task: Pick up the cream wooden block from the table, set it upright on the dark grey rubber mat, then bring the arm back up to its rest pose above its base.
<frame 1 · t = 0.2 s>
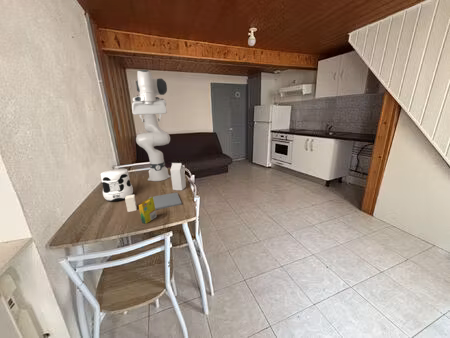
hand: (151, 121, 120), 48 cm above the table, tool pointing down, fingers open, 8 cm apart
crayon box: (149, 220, 96), on the table
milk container: (119, 197, 125), on the table
milk carton: (179, 188, 136), on the table
mat: (164, 201, 116), on the table
cream block: (132, 209, 108), on the table
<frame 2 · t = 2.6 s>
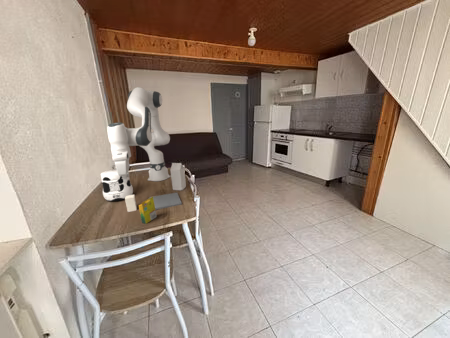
hand: (126, 179, 103), 18 cm above the table, tool pointing down, fingers open, 8 cm apart
nothing on the table moved.
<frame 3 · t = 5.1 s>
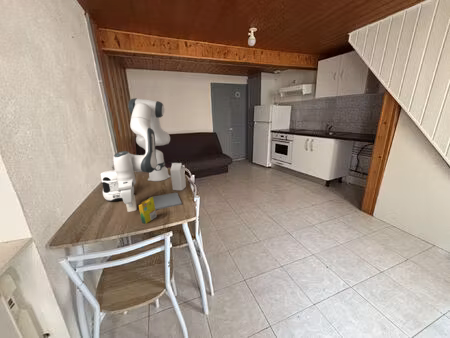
hand: (131, 204, 107), 3 cm above the table, tool pointing down, fingers closed on cream block, 4 cm apart
cream block: (132, 209, 108), on the table, touching gripper
everything else where it was.
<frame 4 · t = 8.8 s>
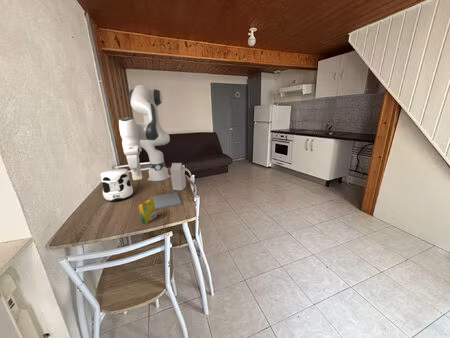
hand: (136, 173, 105), 21 cm above the table, tool pointing down, fingers closed on cream block, 4 cm apart
cream block: (137, 178, 106), point 18 cm above the table, touching gripper
everything else where it was.
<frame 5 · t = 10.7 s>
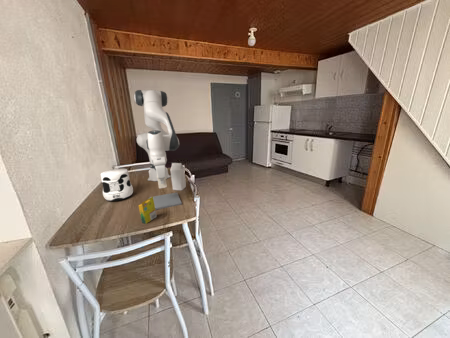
hand: (162, 181, 112), 13 cm above the table, tool pointing down, fingers closed on cream block, 4 cm apart
cream block: (162, 186, 113), point 10 cm above the table, touching gripper
everything else where it was.
when the fingers open (6 cm above the table, at t = 12.4 s): cream block drops 1 cm, resting on mat.
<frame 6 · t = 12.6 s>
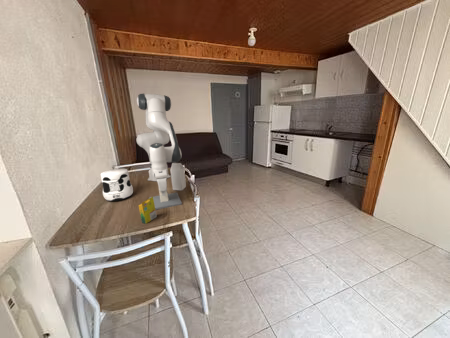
hand: (163, 193, 114), 6 cm above the table, tool pointing down, fingers open, 6 cm apart
cream block: (164, 200, 116), point 1 cm above the table, touching mat
everything else where it was.
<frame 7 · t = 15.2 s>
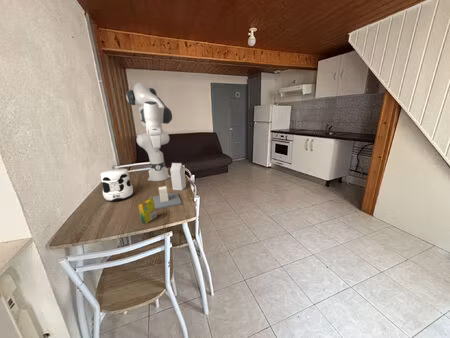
hand: (157, 153, 115), 29 cm above the table, tool pointing down, fingers open, 8 cm apart
nothing on the table moved.
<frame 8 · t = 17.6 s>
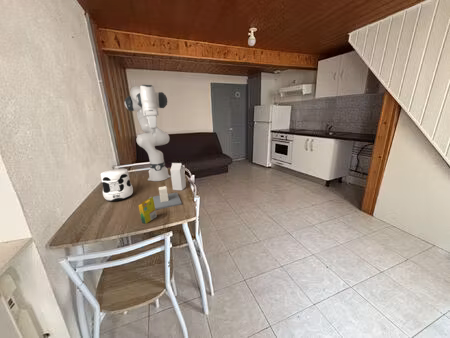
hand: (154, 135, 119), 39 cm above the table, tool pointing down, fingers open, 8 cm apart
nothing on the table moved.
at the end: cream block inside the target area on the mat (0.1 cm from its centre), point 1.0 cm above the mat's base; cream block tilted 0°; the gripper is holding nothing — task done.
